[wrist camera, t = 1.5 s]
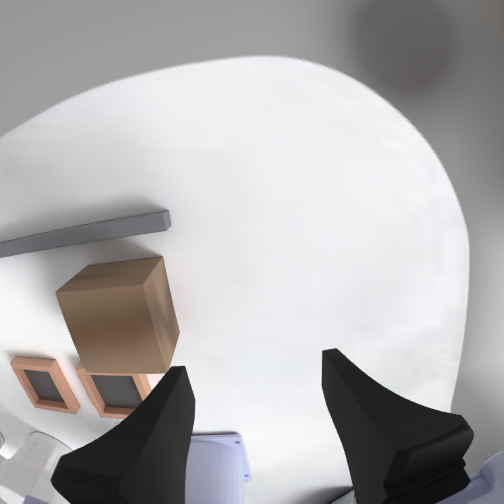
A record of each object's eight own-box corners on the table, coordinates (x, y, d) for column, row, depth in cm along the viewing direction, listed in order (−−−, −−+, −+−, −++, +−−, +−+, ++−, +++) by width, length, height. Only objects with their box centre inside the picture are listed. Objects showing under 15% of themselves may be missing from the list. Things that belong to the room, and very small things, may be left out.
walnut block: (180, 331, 22) (167, 373, 17) (109, 335, 22) (86, 372, 17) (163, 255, 20) (142, 284, 16) (88, 264, 20) (55, 292, 16)
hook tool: (198, 353, 23) (194, 373, 20) (-22, 348, 22) (-33, 359, 20) (168, 210, 19) (159, 217, 17) (-56, 256, 19) (-70, 264, 17)
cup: (37, 411, 25) (-1, 477, 14) (114, 472, 28) (95, 539, 18) (8, 430, 27) (-22, 480, 16) (72, 481, 30) (53, 533, 19)
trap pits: (160, 411, 24) (157, 420, 23) (39, 400, 24) (35, 407, 23) (140, 361, 23) (136, 369, 22) (15, 356, 23) (9, 362, 21)
